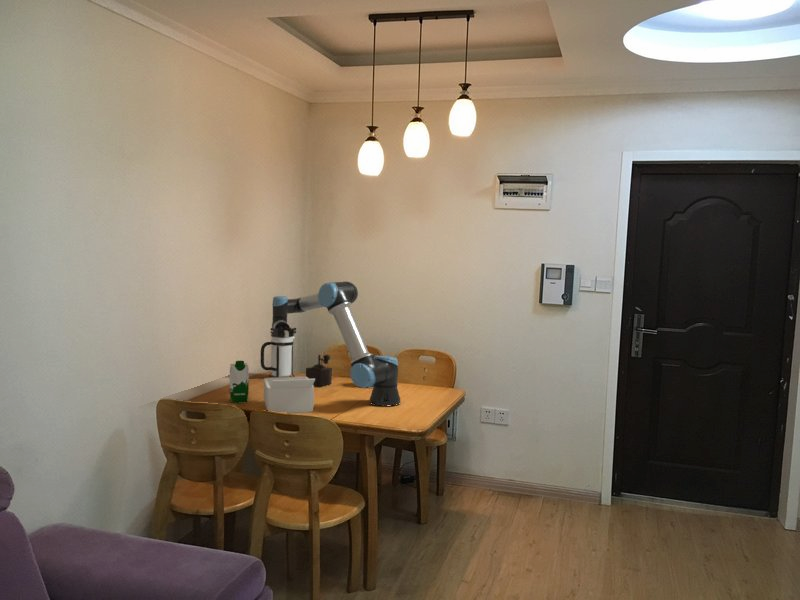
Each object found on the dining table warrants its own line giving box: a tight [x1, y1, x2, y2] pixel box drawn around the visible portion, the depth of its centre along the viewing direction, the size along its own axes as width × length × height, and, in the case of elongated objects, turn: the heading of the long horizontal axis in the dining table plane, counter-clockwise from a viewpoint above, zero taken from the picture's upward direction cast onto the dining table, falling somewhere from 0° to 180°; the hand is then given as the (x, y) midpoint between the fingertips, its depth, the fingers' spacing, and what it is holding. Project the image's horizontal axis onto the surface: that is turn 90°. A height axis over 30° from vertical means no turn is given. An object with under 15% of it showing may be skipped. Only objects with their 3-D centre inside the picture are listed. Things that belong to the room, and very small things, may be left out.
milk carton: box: [229, 360, 250, 404], centre depth 321 cm, size 9×9×20 cm
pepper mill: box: [305, 354, 333, 388], centre depth 361 cm, size 16×11×18 cm
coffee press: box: [260, 333, 296, 378], centre depth 376 cm, size 17×16×30 cm
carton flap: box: [270, 379, 315, 389], centre depth 296 cm, size 11×19×1 cm, turn 106°
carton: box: [263, 376, 315, 414], centre depth 313 cm, size 22×21×12 cm
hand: (287, 335), depth 316 cm, fingers closed
